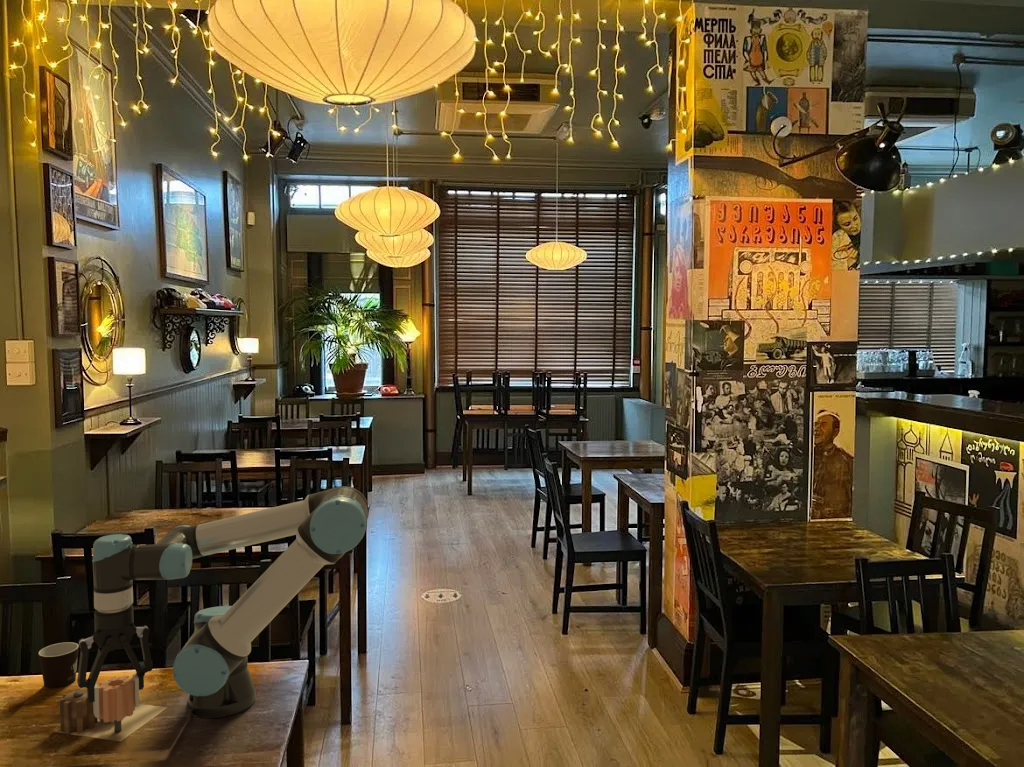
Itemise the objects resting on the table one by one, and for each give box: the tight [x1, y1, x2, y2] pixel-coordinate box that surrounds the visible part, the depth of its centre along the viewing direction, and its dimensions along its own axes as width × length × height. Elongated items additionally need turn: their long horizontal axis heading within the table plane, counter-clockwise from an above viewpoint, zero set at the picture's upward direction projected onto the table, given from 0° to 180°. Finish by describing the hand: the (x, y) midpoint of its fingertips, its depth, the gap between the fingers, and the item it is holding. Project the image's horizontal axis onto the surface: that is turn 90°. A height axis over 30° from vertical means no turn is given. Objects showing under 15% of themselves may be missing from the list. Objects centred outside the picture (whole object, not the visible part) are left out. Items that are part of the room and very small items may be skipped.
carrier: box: [54, 703, 168, 742], centre depth 171 cm, size 17×15×6 cm
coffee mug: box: [38, 641, 80, 690], centre depth 190 cm, size 12×9×10 cm
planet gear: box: [98, 675, 135, 722], centre depth 165 cm, size 7×7×7 cm
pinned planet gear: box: [59, 688, 98, 735], centre depth 168 cm, size 7×7×8 cm
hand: (116, 709), depth 166 cm, fingers closed on planet gear, 7 cm apart
